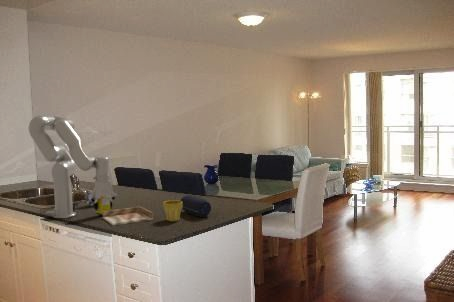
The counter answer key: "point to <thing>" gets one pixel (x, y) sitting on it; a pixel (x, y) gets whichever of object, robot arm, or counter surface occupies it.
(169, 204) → the plant pot
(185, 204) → the portable speaker
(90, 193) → the passion flower
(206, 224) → the counter surface
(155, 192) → the counter surface
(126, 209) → the arena
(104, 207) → the supplement box
